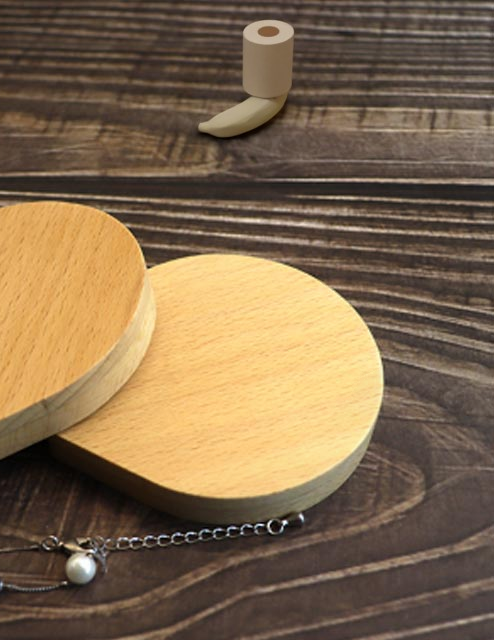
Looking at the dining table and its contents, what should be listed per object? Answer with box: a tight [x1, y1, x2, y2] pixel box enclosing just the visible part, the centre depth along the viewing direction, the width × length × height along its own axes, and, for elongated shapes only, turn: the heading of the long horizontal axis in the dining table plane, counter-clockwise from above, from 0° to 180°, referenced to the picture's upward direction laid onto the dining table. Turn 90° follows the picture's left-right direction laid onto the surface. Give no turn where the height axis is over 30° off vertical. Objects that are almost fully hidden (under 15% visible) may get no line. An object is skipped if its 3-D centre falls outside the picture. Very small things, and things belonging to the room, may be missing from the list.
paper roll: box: [242, 19, 295, 98], centre depth 115 cm, size 6×6×7 cm
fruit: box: [198, 91, 289, 138], centre depth 119 cm, size 7×15×3 cm, turn 147°
